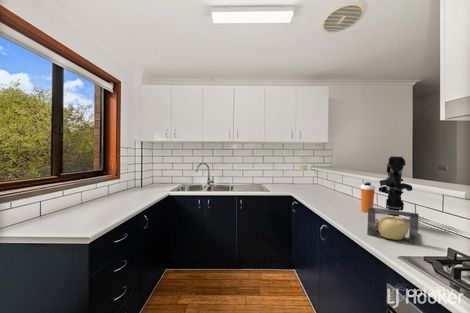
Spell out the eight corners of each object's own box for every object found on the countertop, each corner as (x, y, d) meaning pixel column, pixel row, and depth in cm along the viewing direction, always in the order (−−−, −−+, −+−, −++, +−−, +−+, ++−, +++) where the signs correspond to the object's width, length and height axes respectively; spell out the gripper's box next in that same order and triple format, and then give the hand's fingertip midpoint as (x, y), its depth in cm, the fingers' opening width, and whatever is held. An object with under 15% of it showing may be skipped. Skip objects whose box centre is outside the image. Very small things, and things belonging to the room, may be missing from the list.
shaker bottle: (373, 210, 173) (374, 182, 173) (374, 213, 165) (375, 183, 165) (359, 209, 177) (360, 181, 176) (359, 212, 169) (360, 182, 168)
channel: (372, 225, 138) (373, 201, 138) (416, 232, 127) (417, 206, 127) (367, 234, 122) (368, 207, 122) (417, 244, 111) (418, 214, 110)
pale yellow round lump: (412, 243, 112) (413, 219, 112) (384, 241, 113) (385, 218, 113) (398, 234, 123) (399, 213, 123) (373, 233, 125) (374, 212, 124)
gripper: (371, 175, 151) (369, 200, 147) (395, 170, 133) (393, 198, 129) (388, 180, 152) (386, 205, 148) (413, 175, 134) (412, 203, 130)
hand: (393, 203), depth 139 cm, fingers closed
